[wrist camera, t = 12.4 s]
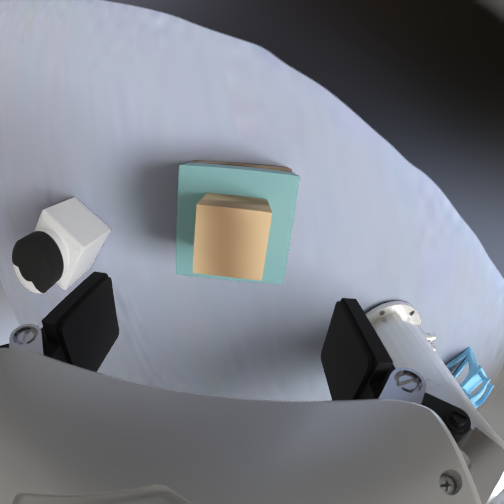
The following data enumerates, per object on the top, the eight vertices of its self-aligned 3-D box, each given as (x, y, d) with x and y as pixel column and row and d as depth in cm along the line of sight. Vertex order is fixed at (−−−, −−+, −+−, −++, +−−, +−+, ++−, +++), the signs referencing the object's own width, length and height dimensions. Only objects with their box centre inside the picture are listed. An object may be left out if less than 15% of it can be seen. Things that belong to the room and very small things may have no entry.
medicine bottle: (74, 195, 30) (13, 221, 18) (112, 228, 31) (58, 268, 20) (56, 236, 31) (1, 271, 20) (91, 267, 33) (42, 314, 22)
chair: (474, 354, 42) (501, 388, 31) (448, 381, 44) (472, 417, 33) (466, 342, 40) (497, 378, 29) (438, 370, 42) (464, 410, 31)
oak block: (267, 199, 23) (272, 212, 18) (259, 254, 25) (261, 280, 20) (207, 192, 23) (196, 204, 18) (202, 248, 24) (192, 272, 20)
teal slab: (292, 172, 26) (299, 176, 22) (278, 267, 29) (282, 284, 26) (189, 162, 25) (179, 165, 22) (184, 257, 29) (176, 274, 25)
